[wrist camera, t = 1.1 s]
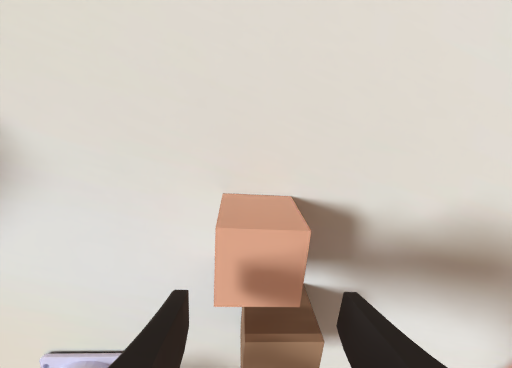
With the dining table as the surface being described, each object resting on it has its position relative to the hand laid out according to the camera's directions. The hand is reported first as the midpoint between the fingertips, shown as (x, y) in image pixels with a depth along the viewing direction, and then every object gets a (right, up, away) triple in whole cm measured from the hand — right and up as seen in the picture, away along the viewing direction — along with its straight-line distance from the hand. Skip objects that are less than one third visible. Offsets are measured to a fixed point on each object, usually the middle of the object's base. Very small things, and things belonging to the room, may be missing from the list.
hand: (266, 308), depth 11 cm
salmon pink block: (-1, +2, +8) cm, 8 cm away
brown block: (+1, -5, +10) cm, 12 cm away
